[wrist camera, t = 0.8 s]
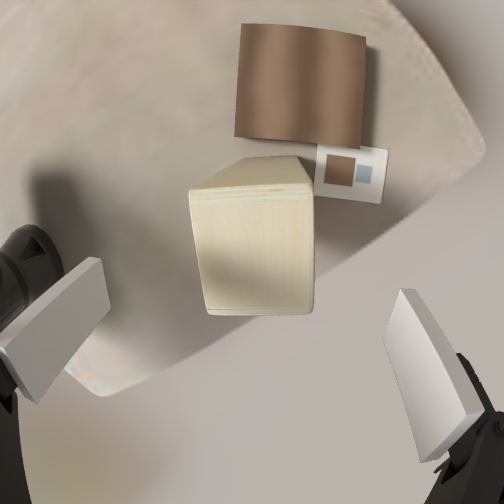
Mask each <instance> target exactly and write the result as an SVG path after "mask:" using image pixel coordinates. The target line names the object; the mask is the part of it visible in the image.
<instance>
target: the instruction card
mask: <svg viewBox="0 0 504 504" xmlns="http://www.w3.org/2000/svg"><path fill="white" fill-rule="evenodd" d="M387 157H388V150H383V149H378V148H373V147H367V146H362V145H361V146H360V150H359V149H352V148H346V147H339V146H332V145H325V144H318V146H317V157H316V167H315V177H314V196H323V197H331V198H339V199H347V200H355V201H362V202H369V203H376V204H381V199H382V193H383V186H384V180H385V173H386V165H387Z"/></svg>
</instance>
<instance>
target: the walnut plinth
mask: <svg viewBox="0 0 504 504" xmlns="http://www.w3.org/2000/svg"><path fill="white" fill-rule="evenodd" d="M365 70H366V37H364V36H359V35H355V34H350V33H344V32H339V31H333V30H326V29H319V28H311V27H302V26H292V25H277V24H242V25H241V38H240V52H239V66H238V82H237V98H236V115H235V134H234V137H247V138H264V139H277V140H289V141H299V142H308V143H317V144H325V145H332V146H339V147H346V148H352V149H359V150H360V146H361V136H362V124H363V111H364V95H365Z"/></svg>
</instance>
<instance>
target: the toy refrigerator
mask: <svg viewBox="0 0 504 504" xmlns="http://www.w3.org/2000/svg"><path fill="white" fill-rule="evenodd" d="M188 196H189V207H190V214H191V221H192V227H193V234H194V241H195V247H196V254H197V260H198V266H199V271H200V277H201V283H202V289H203V294H204V300H205V305H206V309H207V312H208V313H209V314H211V315H231V316H242V315H261V316H265V315H304V314H310V313H311V312H312V311H313V307H314V283H315V218H314V187H313V182H312V180H311V178H310V177H309V175H308V174H307V172H306V170H305V169H304V167H303V166H302V164H301V162H300V160H299V159H298V157H297V156H272V157H256V158H244V159H242V160H240V161H238V162H236V163H234V164H232V165H231V166H229V167H227V168H226V169H224V170H222V171H220V172H219V173H217V174H215V175H213V176H211V177H210V178H208V179H207V180H205V181H203V182H202V183H200V184H198V185H196V186H195V187H193V188H192V189H191V190H190V191H189V194H188Z"/></svg>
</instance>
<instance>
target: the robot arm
mask: <svg viewBox="0 0 504 504" xmlns="http://www.w3.org/2000/svg"><path fill="white" fill-rule="evenodd" d="M110 309H111V305H110V300H109V296H108V291H107V286H106V281H105V276H104V271H103V265H102V260H101V258H95V257H88V258H87V259H85V260H84V261H83V262H81V263H80V264H79V265H78V266H76V267H75V268H74V269H73V270H71V271H70V272H69V273H68V274H66V275H65V276H64V277H63V269H62V264H61V261H60V258H59V255H58V253H57V251H56V249H55V247H54V245H53V244H52V242H51V241H50V239H49V238H48V237H47V235H46V234H45V233H44V232H43V231H41V230H40V229H39V228H37V227H35V226H33V225H24V226H22V227H20V228H18V229H16V230H15V231H14V232H13V233H12V234H11V235H10V237H9V238H8V239H7V240H6V242H5V243H4V244H3V245H2V247H1V248H0V504H32V503H31V499H30V495H29V490H28V486H27V481H26V476H25V471H24V465H23V459H22V452H21V444H20V435H19V423H18V422H19V421H18V398H17V394H16V392H15V391H14V390H15V389H16V388H17V386H18V388H19V389H20V391H21V392H22V394H23V395H24V396H25V397H26V398H28V399H30V400H31V401H33V402H34V403H36V404H37V403H38V402H39V401H40V399H41V398H42V396H43V395H44V394H45V392H46V391H47V389H48V388H49V387H50V385H51V384H52V382H53V381H54V380H55V378H56V377H57V376H58V374H59V373H60V372H61V370H62V369H63V368H64V367H65V365H66V364H67V363H68V361H69V360H70V359H71V357H72V356H73V355H74V354H75V352H76V351H77V350H78V348H79V347H80V346H81V345H82V343H83V342H84V341H85V340H86V338H87V337H88V336H89V335H90V334H91V332H92V331H93V330H94V329H95V327H96V326H97V325H98V324H99V323H100V321H101V320H102V319H103V318H104V317H105V315H106V314H107V313H108V312H109V311H110ZM382 340H383V343H384V345H385V348H386V351H387V354H388V356H389V359H390V362H391V365H392V367H393V371H394V373H395V377H396V380H397V382H398V386H399V389H400V392H401V395H402V398H403V401H404V404H405V408H406V411H407V415H408V418H409V421H410V425H411V429H412V432H413V436H414V439H415V443H416V447H417V451H418V455H419V459H420V463H424V462H428V461H432V460H436V459H439V458H440V457H441V456H442V455H443V454H444V453H445V452H446V451H449V455H450V457H449V458H448V459H447V460H446V461H445V462H443V463H442V464H441V465H440V466H439V467H438V468H437V469H436V470H435V471H434V473H437V472H438V471H440V470H441V469H442V470H441V472H440V474H439V477H438V479H437V481H436V483H435V485H434V487H433V488H432V490H431V492H430V494H429V496H428V498H427V500H426V501H425V503H424V504H504V412H500V411H498V412H496V411H495V410H494V408H493V406H492V404H491V402H490V400H489V398H488V396H487V394H486V392H485V390H484V388H483V386H482V384H481V382H479V378H478V377H477V375H476V374H475V372H474V370H473V368H472V366H471V364H470V362H469V361H468V360H467V359H466V358H465V357H464V356H463V355H462V354H461V353H455V352H454V350H453V348H452V346H451V345H450V343H449V341H448V340H447V338H446V336H445V335H444V333H443V331H442V330H441V328H440V327H439V325H438V323H437V322H436V320H435V319H434V317H433V316H432V314H431V312H430V311H429V310H428V308H427V307H426V305H425V303H424V302H423V300H422V299H421V297H420V296H419V295H418V293H417V292H416V290H413V289H400V291H399V295H398V297H397V300H396V303H395V306H394V309H393V312H392V315H391V318H390V320H389V323H388V325H387V328H386V331H385V333H384V336H383V339H382Z"/></svg>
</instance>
